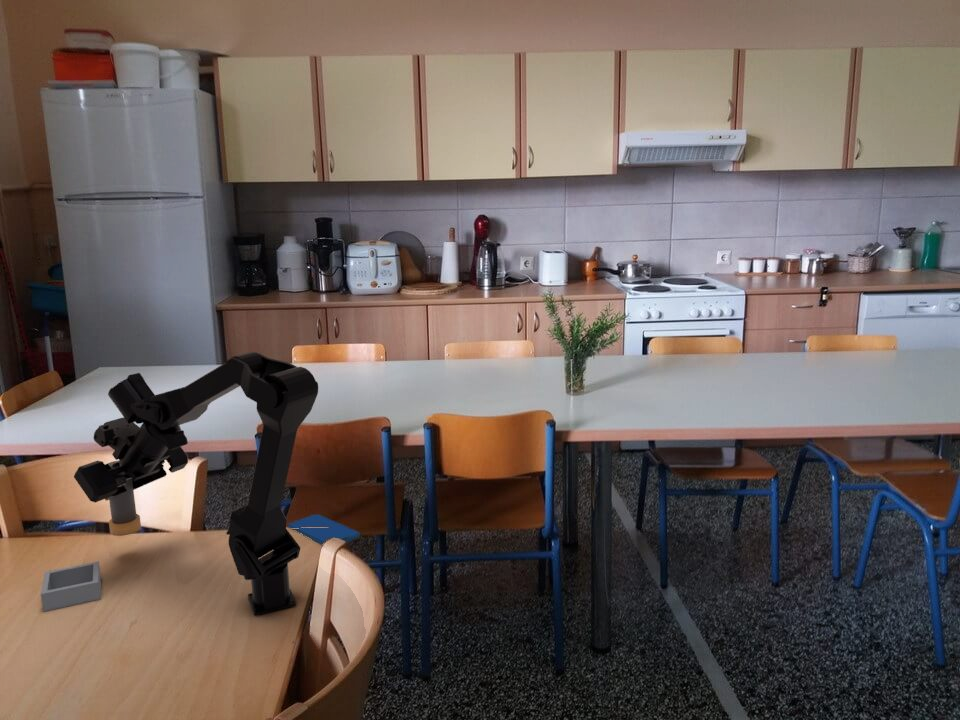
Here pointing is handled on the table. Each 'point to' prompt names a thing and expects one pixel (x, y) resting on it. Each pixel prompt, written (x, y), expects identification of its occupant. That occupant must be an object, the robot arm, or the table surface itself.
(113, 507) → the plug
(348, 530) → the smartphone
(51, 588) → the socket
